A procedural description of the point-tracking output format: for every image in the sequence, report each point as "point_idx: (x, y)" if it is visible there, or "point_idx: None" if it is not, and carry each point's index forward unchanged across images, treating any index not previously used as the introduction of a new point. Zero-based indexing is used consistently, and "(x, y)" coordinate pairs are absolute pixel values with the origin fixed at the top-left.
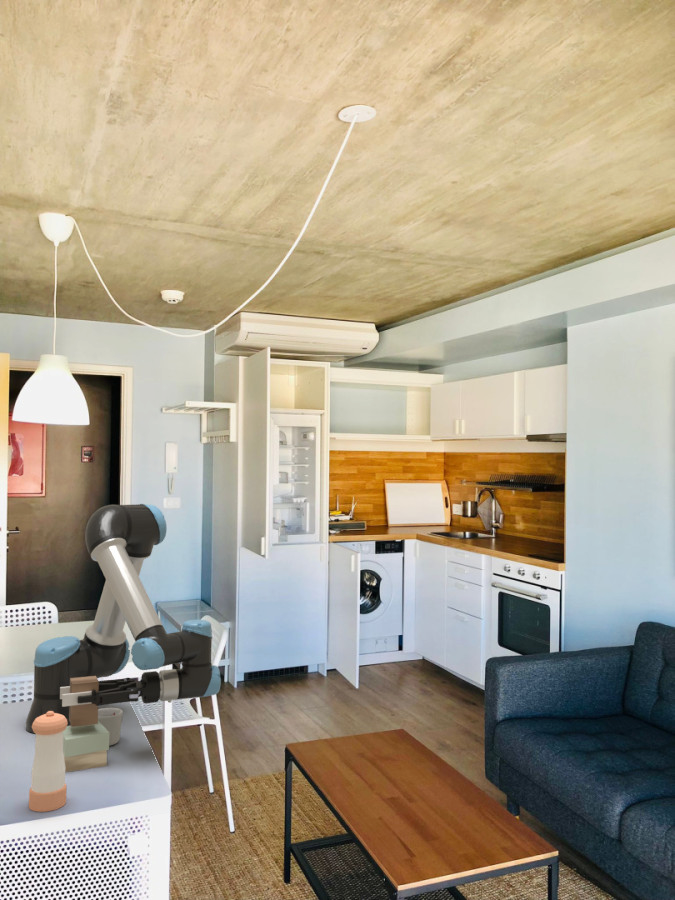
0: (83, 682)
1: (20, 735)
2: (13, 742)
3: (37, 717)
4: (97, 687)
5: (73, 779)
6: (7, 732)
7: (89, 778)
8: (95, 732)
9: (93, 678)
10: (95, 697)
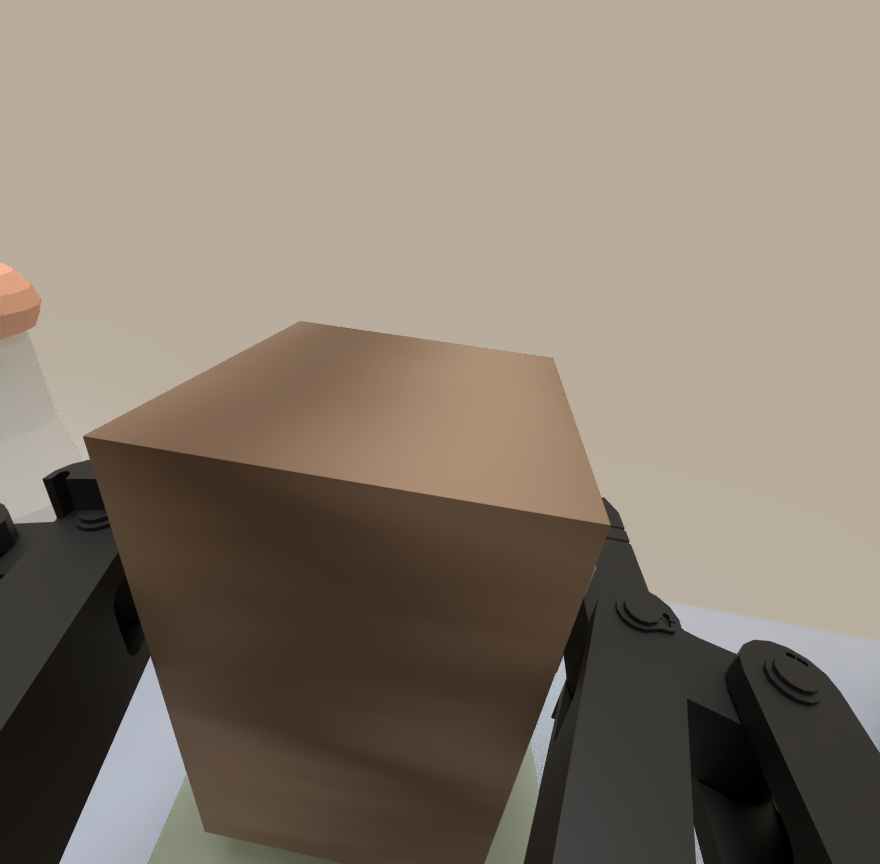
0: (273, 356)
1: (848, 673)
2: (747, 632)
3: (3, 264)
4: (125, 516)
5: (163, 728)
6: (877, 640)
7: (82, 816)
8: (224, 841)
9: (394, 449)
10: (17, 529)
